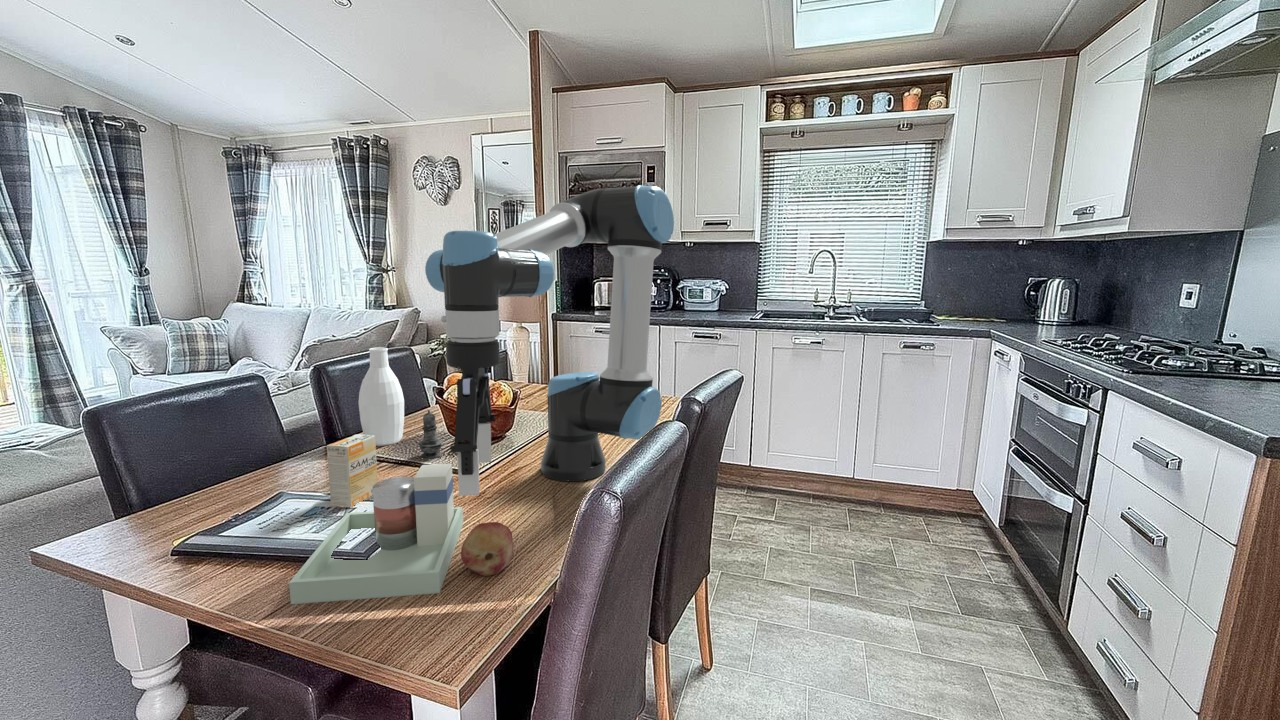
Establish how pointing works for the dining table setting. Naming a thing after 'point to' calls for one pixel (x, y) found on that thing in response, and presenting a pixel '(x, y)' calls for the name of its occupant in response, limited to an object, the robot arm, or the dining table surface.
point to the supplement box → (352, 469)
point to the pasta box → (433, 503)
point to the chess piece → (430, 438)
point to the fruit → (487, 548)
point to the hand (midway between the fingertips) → (476, 477)
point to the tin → (395, 513)
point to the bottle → (381, 401)
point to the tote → (373, 567)
